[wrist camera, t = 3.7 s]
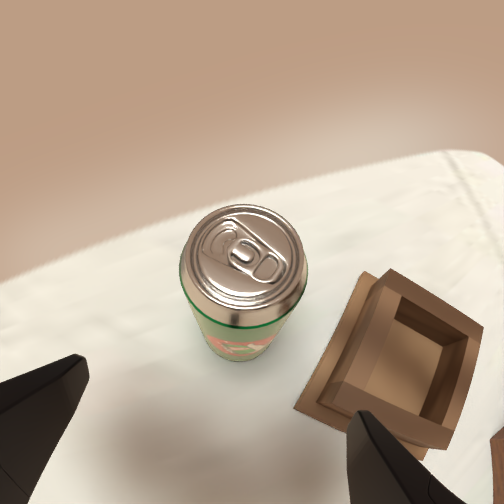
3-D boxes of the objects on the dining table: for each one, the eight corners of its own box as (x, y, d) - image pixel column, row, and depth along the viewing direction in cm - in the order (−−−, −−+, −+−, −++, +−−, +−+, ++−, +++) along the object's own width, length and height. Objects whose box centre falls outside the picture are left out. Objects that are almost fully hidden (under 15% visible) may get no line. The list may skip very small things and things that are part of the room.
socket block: (416, 459, 16) (448, 465, 12) (293, 408, 19) (308, 410, 15) (460, 335, 21) (492, 321, 17) (360, 275, 24) (382, 250, 20)
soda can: (230, 283, 23) (230, 176, 12) (286, 320, 22) (337, 239, 11) (190, 335, 21) (145, 266, 10) (247, 375, 20) (265, 351, 9)
